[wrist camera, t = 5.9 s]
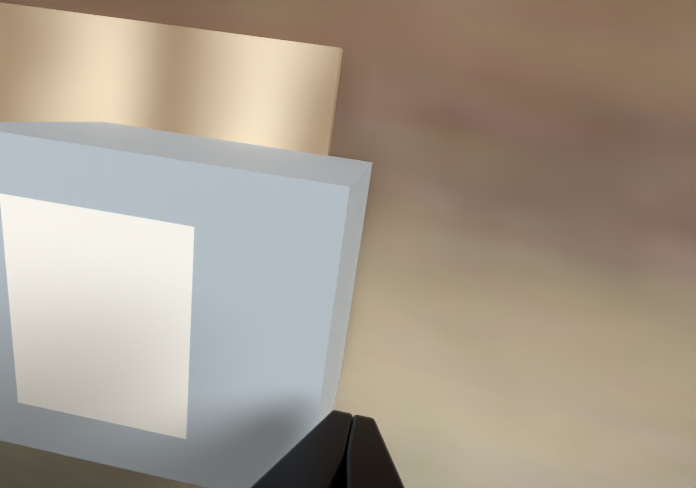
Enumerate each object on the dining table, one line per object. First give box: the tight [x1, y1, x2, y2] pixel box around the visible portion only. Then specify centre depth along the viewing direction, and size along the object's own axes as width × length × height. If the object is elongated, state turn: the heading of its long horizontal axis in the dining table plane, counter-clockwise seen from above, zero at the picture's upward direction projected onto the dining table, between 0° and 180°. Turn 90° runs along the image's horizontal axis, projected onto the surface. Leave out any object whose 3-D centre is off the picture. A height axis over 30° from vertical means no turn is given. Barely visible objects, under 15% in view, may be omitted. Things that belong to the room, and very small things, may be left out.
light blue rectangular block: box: [0, 122, 373, 488], centre depth 14 cm, size 6×9×10 cm
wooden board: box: [0, 2, 343, 156], centre depth 18 cm, size 14×16×1 cm
